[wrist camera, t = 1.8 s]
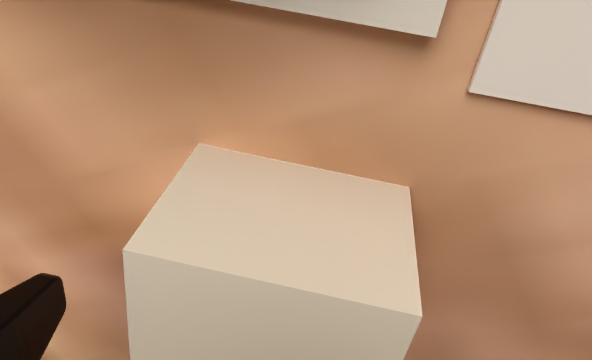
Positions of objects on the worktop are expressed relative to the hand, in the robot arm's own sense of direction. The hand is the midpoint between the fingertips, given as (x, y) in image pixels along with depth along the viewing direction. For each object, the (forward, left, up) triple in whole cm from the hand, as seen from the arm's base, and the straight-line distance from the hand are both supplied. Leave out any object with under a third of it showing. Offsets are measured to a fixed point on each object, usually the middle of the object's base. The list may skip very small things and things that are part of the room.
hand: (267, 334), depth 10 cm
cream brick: (0, 0, -3) cm, 3 cm away
